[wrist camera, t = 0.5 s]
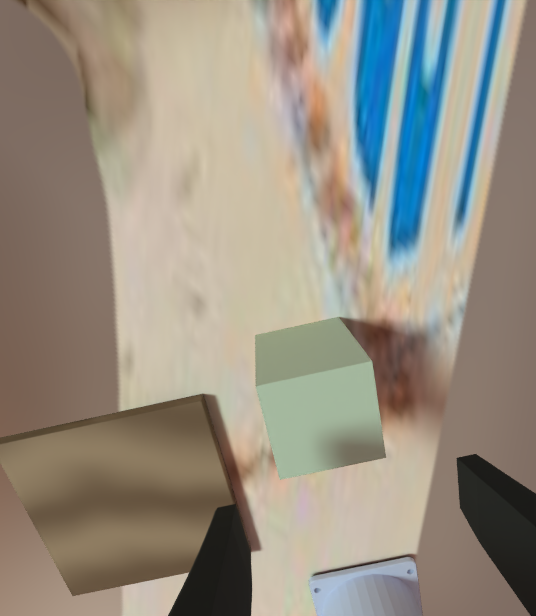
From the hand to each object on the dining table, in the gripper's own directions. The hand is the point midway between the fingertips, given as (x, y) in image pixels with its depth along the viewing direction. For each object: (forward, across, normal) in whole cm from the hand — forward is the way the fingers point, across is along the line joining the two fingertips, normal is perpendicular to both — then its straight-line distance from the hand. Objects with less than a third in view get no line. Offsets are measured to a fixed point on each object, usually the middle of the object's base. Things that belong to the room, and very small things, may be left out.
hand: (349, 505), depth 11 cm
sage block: (+10, 0, 0) cm, 10 cm away
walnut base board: (+10, +13, +7) cm, 18 cm away
